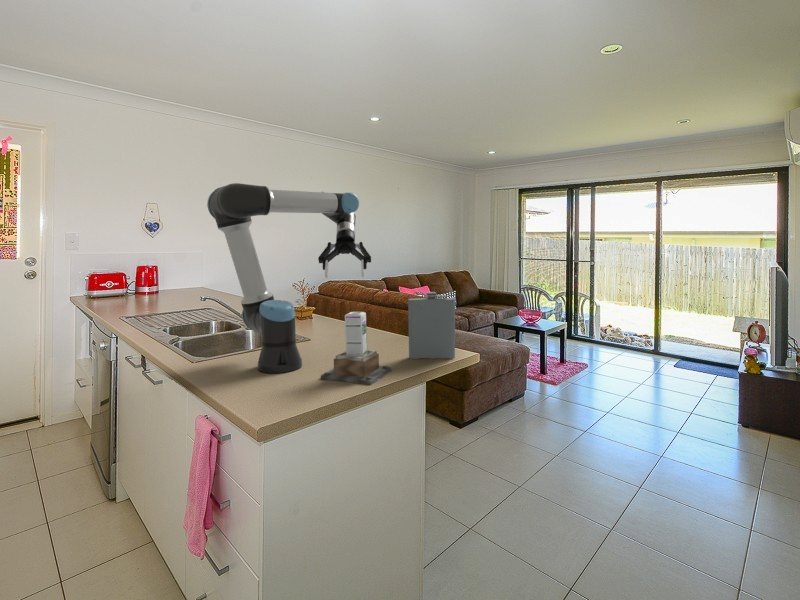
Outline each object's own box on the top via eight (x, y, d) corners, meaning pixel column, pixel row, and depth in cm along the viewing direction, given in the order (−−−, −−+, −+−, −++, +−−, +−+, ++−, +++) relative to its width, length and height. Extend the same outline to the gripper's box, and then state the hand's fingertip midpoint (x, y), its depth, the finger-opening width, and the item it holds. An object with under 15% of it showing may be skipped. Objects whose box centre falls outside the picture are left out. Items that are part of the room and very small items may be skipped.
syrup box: (363, 358, 138) (362, 314, 136) (345, 358, 139) (344, 314, 137) (367, 354, 143) (366, 311, 141) (350, 353, 144) (349, 311, 142)
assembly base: (320, 378, 137) (319, 357, 136) (344, 365, 152) (344, 346, 151) (371, 384, 131) (370, 361, 130) (391, 370, 146) (390, 349, 145)
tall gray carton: (454, 355, 164) (454, 291, 161) (455, 358, 160) (455, 292, 156) (409, 355, 165) (408, 291, 162) (408, 359, 160) (408, 292, 157)
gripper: (376, 241, 177) (377, 280, 164) (315, 242, 175) (312, 282, 162) (376, 228, 171) (377, 267, 158) (313, 229, 169) (309, 268, 156)
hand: (344, 275), depth 160 cm, fingers open, 13 cm apart
